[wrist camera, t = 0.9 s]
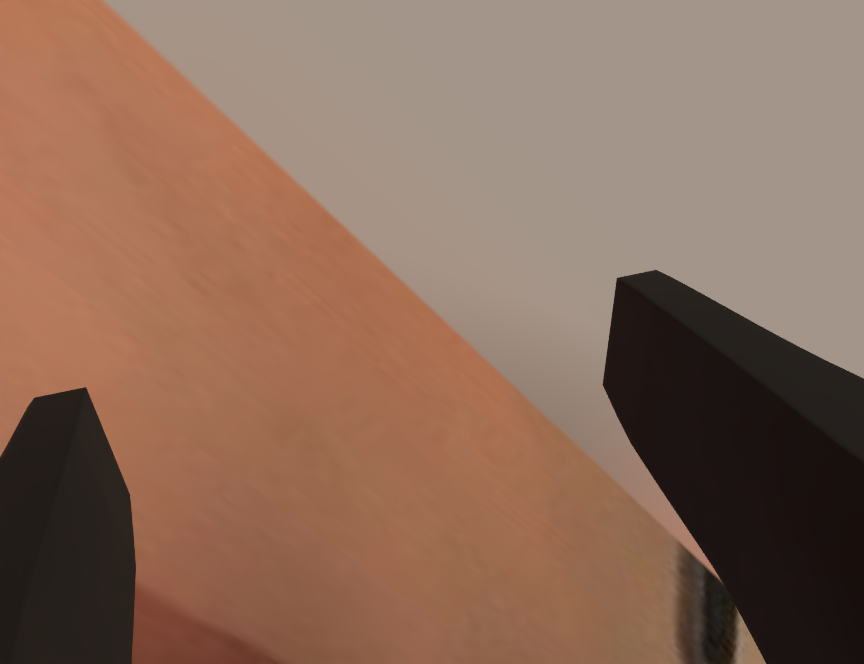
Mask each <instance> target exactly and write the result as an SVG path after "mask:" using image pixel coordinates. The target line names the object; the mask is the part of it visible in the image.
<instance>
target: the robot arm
mask: <svg viewBox="0 0 864 664" xmlns="http://www.w3.org/2000/svg"><path fill="white" fill-rule="evenodd" d="M603 386H604V389H605V390H606V393H607V395H608V397H609V399H610V402H611V403H612V406H613V408H614V410H615V412H616V415H617V417H618V419H619V421H620V423H621V424H622V427H623V429H624V430H625V433H626V434H627V436H628V438H629V440H630V443H631V444H632V446H633V447H634V449H635V450H636V452H637V453H638V455H639V456H640V458H641V460H642V461H643V463H644V464H645V466H646V467H647V469H648V470H649V472H650V473H651V475H652V476H653V478H654V480H655V481H656V483H657V484H658V485H659V487H660V489H661V490H662V492H663V493H664V495H665V496H666V498H667V499H668V501H669V502H670V503H671V505H672V506H673V508H674V509H675V511H676V512H677V514H678V515H679V517H680V518H681V520H682V521H683V523H684V524H685V526H686V527H687V529H688V530H689V532H690V533H691V534H692V536H693V538H694V539H695V541H696V542H697V543H698V545H699V547H700V548H701V549H702V551H703V553H704V554H705V556H706V557H707V559H708V560H709V562H710V563H711V565H712V566H713V568H714V569H715V571H716V573H717V574H718V576H719V577H720V579H721V581H722V582H723V584H724V586H725V587H726V589H727V591H728V592H729V594H730V596H731V598H732V599H733V601H734V603H735V605H736V607H737V609H738V611H739V613H740V615H741V616H742V618H743V620H744V622H745V624H746V626H747V628H748V630H749V632H750V633H751V635H752V637H753V639H754V641H755V643H756V645H757V647H758V649H759V650H760V652H761V654H762V656H763V658H764V660H765V662H766V664H864V379H863V378H861V377H859V376H857V375H855V374H853V373H851V372H849V371H846V370H845V369H843V368H840V367H838V366H836V365H834V364H832V363H830V362H828V361H826V360H823V359H821V358H820V357H818V356H816V355H814V354H812V353H810V352H808V351H806V350H804V349H802V348H800V347H798V346H796V345H794V344H793V343H791V342H789V341H787V340H785V339H783V338H781V337H779V336H777V335H776V334H774V333H772V332H770V331H768V330H766V329H764V328H763V327H761V326H759V325H757V324H755V323H754V322H752V321H750V320H748V319H746V318H744V317H743V316H741V315H739V314H737V313H735V312H734V311H732V310H730V309H728V308H727V307H725V306H723V305H721V304H719V303H717V302H716V301H714V300H712V299H710V298H708V297H707V296H705V295H703V294H701V293H700V292H698V291H696V290H694V289H692V288H690V287H688V286H687V285H685V284H683V283H681V282H679V281H677V280H675V279H673V278H672V277H670V276H667V275H666V274H663V273H661V272H659V271H657V270H654V271H649V272H644V273H639V274H634V275H630V276H625V277H620V278H617V282H616V290H615V297H614V304H613V312H612V319H611V327H610V334H609V342H608V349H607V357H606V365H605V372H604V380H603ZM135 574H136V563H135V549H134V535H133V524H132V512H131V501H130V494H129V491H128V489H127V486H126V484H125V482H124V479H123V477H122V474H121V472H120V469H119V467H118V464H117V462H116V460H115V457H114V455H113V452H112V450H111V447H110V445H109V442H108V440H107V437H106V435H105V433H104V430H103V428H102V425H101V423H100V420H99V418H98V415H97V413H96V411H95V408H94V406H93V403H92V401H91V398H90V396H89V393H88V391H87V389H86V387H85V388H80V389H75V390H70V391H65V392H60V393H56V394H51V395H46V396H41V397H36V398H34V399H33V401H32V402H31V403H30V405H29V406H28V407H27V409H26V411H25V413H24V415H23V417H22V418H21V420H20V422H19V424H18V426H17V428H16V430H15V431H14V433H13V435H12V437H11V439H10V441H9V442H8V444H7V446H6V448H5V450H4V452H3V453H2V455H1V457H0V664H131V662H132V642H133V622H134V599H135Z"/></svg>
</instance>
